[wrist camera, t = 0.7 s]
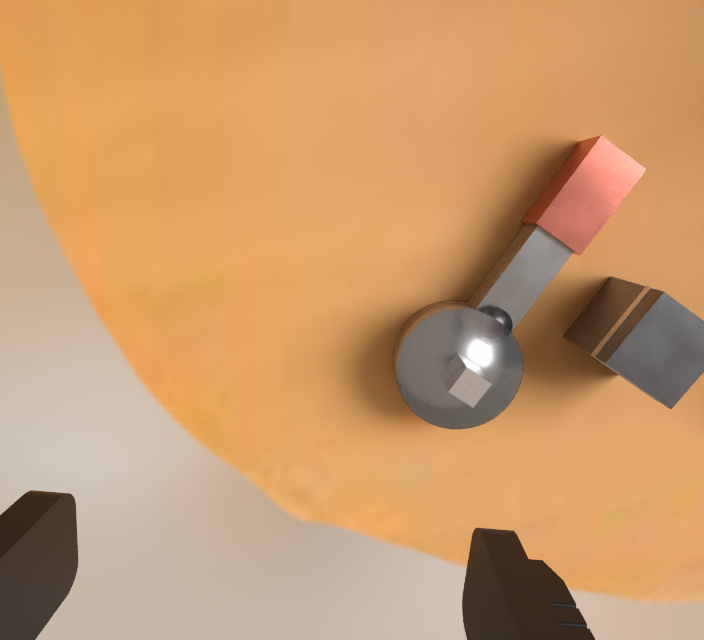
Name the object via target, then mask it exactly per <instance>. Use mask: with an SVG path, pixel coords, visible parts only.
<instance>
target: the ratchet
mask: <svg viewBox="0 0 704 640" xmlns="http://www.w3.org/2000/svg"><path fill="white" fill-rule="evenodd" d="M645 171H646V169H645V168H644V167H642V166H641V165H640V164H638V163H637V162H636V161H634V160H633V159H632V158H630V157H629V156H628V155H627V154H625V153H624V152H623V151H621V150H620V149H619V148H617V147H616V146H615V145H614V144H612V143H611V142H610V141H608V140H607V139H606V138H604V137H603V136H602V135H601V136H598V137H594V138H590V139H586V140H583V141H580V143H579V144H578V145H577V147H576V148H575V149H574V151H573V152H572V153H571V155H570V156H569V158H568V159H567V160H566V162H565V163H564V164H563V166H562V167H561V168H560V170H559V171H558V172H557V174H556V175H555V177H554V178H553V179H552V181H551V182H550V183H549V185H548V186H547V187H546V189H545V190H544V191H543V193H542V194H541V195H540V197H539V198H538V200H537V201H536V202H535V204H534V205H533V206H532V208H531V209H530V210H529V212H528V213H527V214H526V216H525V217H524V219H523V220H522V221H521V222H523V223H524V224H525V225H524V226H523V227H522V229H521V230H520V231H519V233H518V234H517V236H516V237H515V238H514V240H513V241H512V242H511V244H510V245H509V246H508V248H507V249H506V250H505V252H504V253H503V254H502V256H501V257H500V259H499V260H498V261H497V263H496V264H495V265H494V267H493V268H492V269H491V271H490V272H489V273H488V275H487V276H486V277H485V279H484V280H483V282H482V283H481V284H480V286H479V287H478V288H477V290H476V291H475V292H474V294H473V295H472V296H471V298H470V299H469V300H468V302H465V301H442V302H438V303H434V304H432V305H429V306H427V307H425V308H423V309H421V310H420V311H419V312H417V313H416V314H414V315H413V316H412V317H411V318H410V319H409V320H408V321H407V322H406V324H405V325H404V326H403V328H402V329H401V331H400V333H399V335H398V337H397V340H396V343H395V347H394V353H393V362H394V369H395V373H396V378H397V382H398V386H399V390H400V392H401V395H402V397H403V399H404V400H405V402H406V404H407V405H408V406H409V408H410V409H411V410H412V411H413V412H414V413H415V414H416V415H417V416H419V417H420V418H421V419H423V420H424V421H426V422H428V423H430V424H433V425H435V426H438V427H442V428H447V429H467V428H472V427H476V426H479V425H482V424H484V423H486V422H488V421H490V420H492V419H493V418H495V417H496V416H498V415H499V414H500V413H501V412H503V411H504V410H505V409H506V407H507V406H508V405H509V404H510V403H511V401H512V400H513V398H514V397H515V395H516V393H517V391H518V389H519V386H520V383H521V379H522V372H523V361H522V355H521V351H520V348H519V345H518V343H517V341H516V339H515V337H514V336H513V335H512V333H511V332H512V331H513V330H514V329H515V327H516V326H517V325H518V323H519V322H520V321H521V319H522V318H523V317H524V316H525V314H526V313H527V312H528V310H529V309H530V308H531V306H532V305H533V304H534V303H535V301H536V300H537V299H538V297H539V296H540V295H541V293H542V292H543V291H544V290H545V288H546V287H547V286H548V284H549V283H550V282H551V280H552V279H553V278H554V277H555V275H556V274H557V273H558V271H559V270H560V269H561V268H562V266H563V265H564V264H565V262H566V261H567V260H568V258H569V257H570V256H571V255H572V253H574V254H578V255H581V254H582V252H583V251H584V250H585V248H586V247H587V246H588V244H589V243H590V242H591V241H592V239H593V238H594V237H595V235H596V234H597V233H598V232H599V230H600V229H601V228H602V226H603V225H604V224H605V223H606V221H607V220H608V219H609V217H610V216H611V215H612V214H613V212H614V211H615V210H616V208H617V207H618V206H619V204H620V203H621V202H622V201H623V199H624V198H625V197H626V195H627V194H628V193H629V192H630V190H631V189H632V188H633V186H634V185H635V184H636V183H637V181H638V180H639V179H640V177H641V176H642V175H643V173H644V172H645Z"/></svg>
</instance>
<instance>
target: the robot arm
mask: <svg viewBox="0 0 704 640" xmlns="http://www.w3.org/2000/svg"><path fill="white" fill-rule="evenodd" d="M76 524H77V523H76V504H75V499H74V497H73V496H72V495H71V494H68V493H56V492H44V491H29V492H27V493H25V494H24V495H23V496H22V497H21V498H19V499H18V500H17V501H16V502H15V503H14V504H13V505H11V506H10V507H9V508H8V509H7V510H6V511H5V512H4V513H2V514H1V515H0V640H35V639H36V638H37V636H38V635H39V634H40V632H41V631H42V629H43V628H44V627H45V625H46V624H47V623H48V621H49V620H50V618H51V617H52V616H53V614H54V613H55V612H56V610H57V609H58V607H59V606H60V605H61V603H62V602H63V601H64V599H65V598H66V596H67V595H68V593H69V591H70V589H71V587H72V585H73V582H74V579H75V576H76V572H77V567H78V545H77V525H76ZM462 609H463V622H464V628H465V632H466V636H467V640H595V638H594V636H593V634H592V633H591V631H590V629H587V624H586V622H585V620H584V618H583V616H582V614H581V612H580V611H579V609H577V608H576V603H575V601H574V599H573V598H572V596H571V594H570V592H569V590H568V588H567V586H566V585H565V583H564V581H563V580H562V579H561V578H560V577H559V576H558V575H557V574H556V573H555V572H554V571H553V570H552V569H551V568H550V567H549V566H548V565H547V564H545V563H544V562H543V561H542V560H531V559H528V557H527V555H526V553H525V551H524V549H523V547H522V545H521V542H520V540H519V538H518V536H517V534H516V533H515V532H514V531H509V530H497V529H484V528H476V529H475V530H474V532H473V535H472V540H471V546H470V553H469V559H468V565H467V571H466V577H465V583H464V590H463V600H462Z"/></svg>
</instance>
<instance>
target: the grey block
mask: <svg viewBox="0 0 704 640" xmlns="http://www.w3.org/2000/svg"><path fill="white" fill-rule="evenodd" d="M563 337H565V338H566V339H568V340H569V341H570V342H572V343H573V344H575V345H576V346H578V347H579V348H581V349H582V350H583V351H585V352H586V353H588V354H589V355H591V356H592V357H593V358H595V359H596V360H598V361H599V362H601V363H602V364H603V365H605V366H606V367H608V368H609V369H611V370H612V371H614V372H615V373H616V374H618V375H619V376H621V377H622V378H624V379H625V380H627V381H628V382H630V383H631V384H633V385H634V386H636V387H637V388H639V389H640V390H641V391H643V392H644V393H646V394H647V395H649V396H650V397H651V398H653V399H654V400H656V401H657V402H661V403H662V404H664V405H665V406H667V407H668V408H670V409H672V408H673V407H674V405H675V404H676V403H677V402H678V401H679V400H680V399H681V397H682V396H683V395H684V394H685V393H686V392H687V391H688V389H689V388H690V387H691V386H692V385H693V384H694V383H695V381H696V380H697V379H698V378H699V377H700V376H701V375H702V373H703V372H704V321H703V320H702V319H700V318H699V317H698V316H696V315H695V314H694V313H692V312H691V311H689V310H688V309H687V308H685V307H684V306H683V305H681V304H680V303H679V302H677V301H676V300H674V299H673V298H672V297H670V296H669V295H668V294H666V293H665V292H663V291H659V290H656V289H653V288H652V287H649V286H646V287H645V286H642V285H638V284H635V283H632V282H628V281H625V280H621V279H618V278H614V277H610V278H609V280H608V281H607V282H606V283H605V285H604V286H603V287H602V289H601V290H600V291H599V292H598V294H597V295H596V296H595V297H594V299H593V300H592V301H591V302H590V304H589V305H588V306H587V307H586V309H585V310H584V311H583V312H582V314H581V315H580V316H579V317H578V319H577V320H576V321H575V322H574V324H573V325H572V326H571V327H570V329H569V330H568V331H567V332H566V334H565V335H564V336H563Z"/></svg>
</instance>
